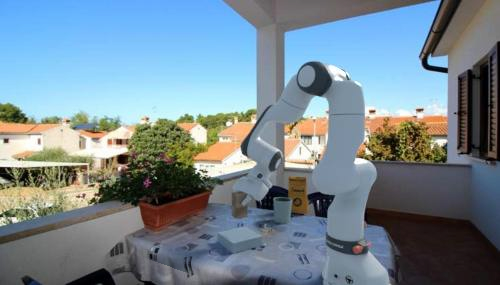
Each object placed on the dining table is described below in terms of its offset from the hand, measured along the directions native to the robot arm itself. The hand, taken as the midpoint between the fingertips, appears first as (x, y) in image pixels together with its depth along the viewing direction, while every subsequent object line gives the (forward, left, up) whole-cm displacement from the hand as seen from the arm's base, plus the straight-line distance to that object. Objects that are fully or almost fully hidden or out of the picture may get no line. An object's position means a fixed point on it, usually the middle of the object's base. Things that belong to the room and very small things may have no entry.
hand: (238, 202), depth 112 cm
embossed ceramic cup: (+13, -36, -18) cm, 42 cm away
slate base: (0, -1, -18) cm, 18 cm away
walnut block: (0, -1, -6) cm, 6 cm away
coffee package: (+20, -54, -18) cm, 60 cm away
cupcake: (-20, -54, -18) cm, 60 cm away
